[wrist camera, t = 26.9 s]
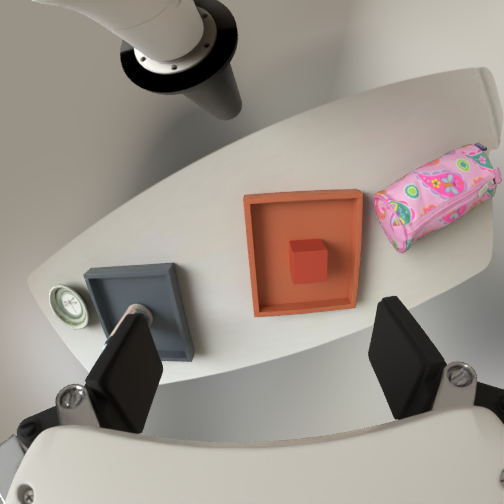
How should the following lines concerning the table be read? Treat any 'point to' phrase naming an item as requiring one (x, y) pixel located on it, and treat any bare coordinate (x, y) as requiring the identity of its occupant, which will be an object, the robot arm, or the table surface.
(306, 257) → the red block
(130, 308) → the beer can
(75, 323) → the saucer
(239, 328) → the table surface
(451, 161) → the pencil case
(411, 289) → the table surface
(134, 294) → the grey tray
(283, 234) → the terracotta tray
